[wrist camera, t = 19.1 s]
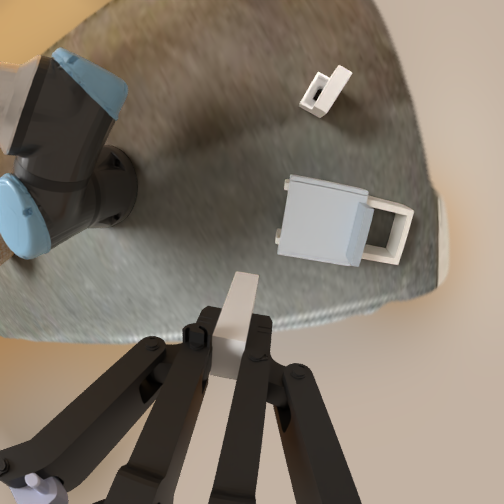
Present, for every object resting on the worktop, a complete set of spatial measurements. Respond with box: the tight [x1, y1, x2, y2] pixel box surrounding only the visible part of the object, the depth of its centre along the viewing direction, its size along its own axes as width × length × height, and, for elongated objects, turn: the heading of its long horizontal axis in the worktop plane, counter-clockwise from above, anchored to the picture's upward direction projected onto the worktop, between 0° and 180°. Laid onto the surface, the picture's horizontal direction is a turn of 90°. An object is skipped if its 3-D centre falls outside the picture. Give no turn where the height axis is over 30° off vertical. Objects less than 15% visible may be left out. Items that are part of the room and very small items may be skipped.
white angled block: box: [299, 65, 352, 118], centre depth 31 cm, size 4×10×9 cm
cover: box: [277, 174, 374, 267], centre depth 36 cm, size 11×11×6 cm
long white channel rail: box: [275, 179, 414, 265], centre depth 40 cm, size 20×9×4 cm, turn 82°
